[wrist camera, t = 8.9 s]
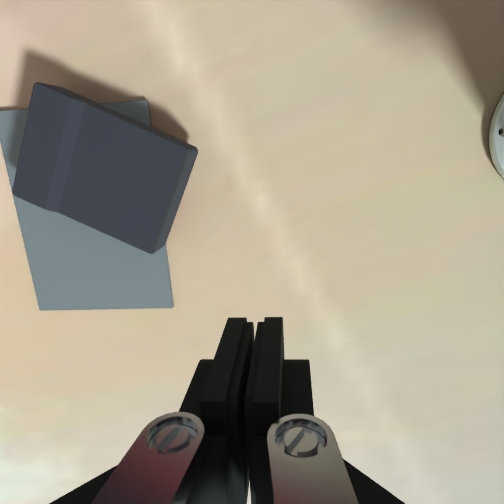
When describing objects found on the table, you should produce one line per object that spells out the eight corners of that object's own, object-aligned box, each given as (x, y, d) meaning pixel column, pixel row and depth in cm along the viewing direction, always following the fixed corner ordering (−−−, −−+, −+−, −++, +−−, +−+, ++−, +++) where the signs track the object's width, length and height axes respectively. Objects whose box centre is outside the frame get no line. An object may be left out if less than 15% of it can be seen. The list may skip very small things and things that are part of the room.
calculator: (202, 148, 37) (63, 86, 38) (188, 149, 33) (33, 80, 33) (166, 246, 41) (40, 189, 41) (151, 258, 37) (10, 194, 37)
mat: (147, 100, 38) (145, 99, 37) (173, 306, 44) (172, 308, 43) (-4, 112, 39) (-7, 111, 39) (42, 308, 45) (39, 310, 45)
